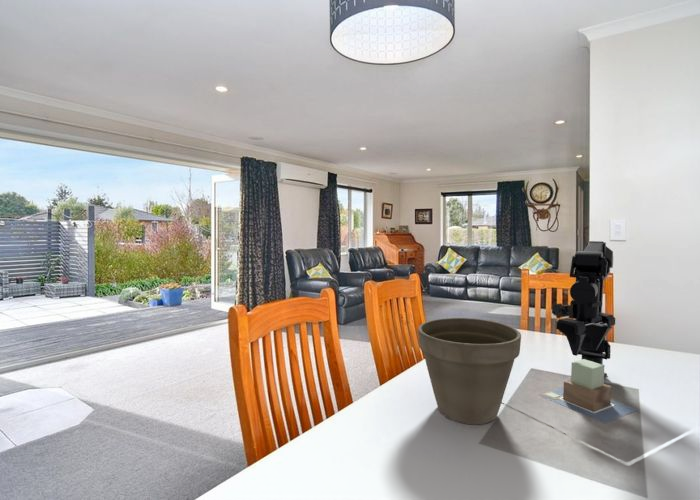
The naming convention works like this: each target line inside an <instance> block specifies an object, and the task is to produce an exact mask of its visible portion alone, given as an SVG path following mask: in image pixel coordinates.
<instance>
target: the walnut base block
mask: <svg viewBox="0 0 700 500" xmlns="http://www.w3.org/2000/svg"><path fill="white" fill-rule="evenodd" d="M563 387H564V391H563V399H564V400H566V401H569V402H571V403H573V404H576V405H578V406H581V407H583V408H586V409H588V410H591V411H595V410H598V409H601V408H603V407H606V406H609V405H611V400H612V386H611V385H608V384H605V383H604V385H603V386H600V387H597V388H594V389H589V388H586V387H583V386H580V385H578V384H575V383H572V382H571V378H570V379H567V380H565V381H563Z"/></svg>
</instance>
